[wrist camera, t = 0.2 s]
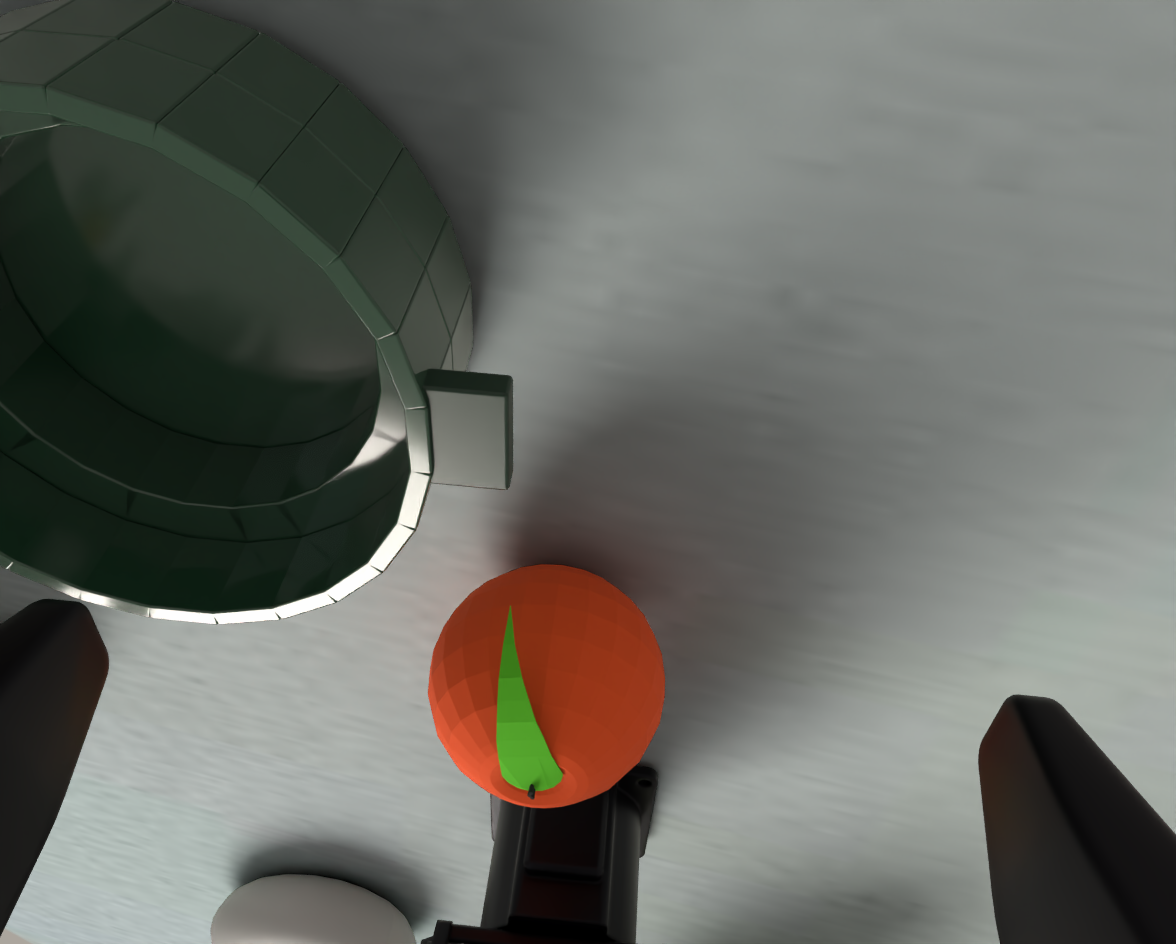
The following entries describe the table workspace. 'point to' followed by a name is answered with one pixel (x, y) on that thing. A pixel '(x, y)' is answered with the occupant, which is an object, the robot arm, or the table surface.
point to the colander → (209, 317)
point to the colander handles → (471, 428)
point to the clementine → (546, 685)
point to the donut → (307, 914)
